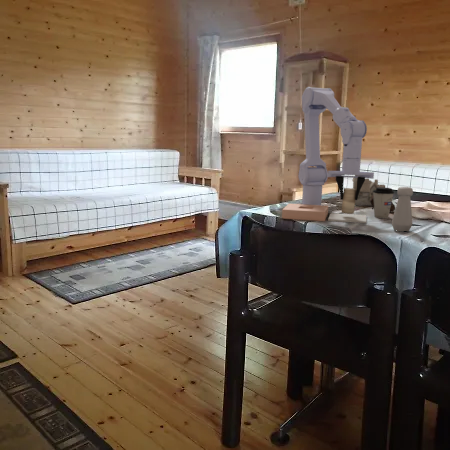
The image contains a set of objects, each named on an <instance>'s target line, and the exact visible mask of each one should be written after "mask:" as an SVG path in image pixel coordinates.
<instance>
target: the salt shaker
mask: <svg viewBox="0 0 450 450" xmlns="http://www.w3.org/2000/svg"><path fill="white" fill-rule="evenodd" d="M413 194H414V189H413V188H412V187H410V186H400V187H397V192H396V195H397V196H398V199H397V201H396V205H395V210H394V211H393V212H394V213H393V216H392V221H391V225H392V228H393V231H395V230H397V231H396V232H398V231H409V232H410V231H411V228H412V227H413V215H412V213H413V212H412V201H411V200H412V199H411V196H413Z"/></svg>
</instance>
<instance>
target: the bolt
mask: <svg viewBox="0 0 450 450" xmlns="http://www.w3.org/2000/svg"><path fill="white" fill-rule="evenodd" d="M370 202H371V205H370V206H372V207H373V208H374V195H373V196H372V198H371V199H370ZM395 209H396V205H395V204H394V202H393V201H392V202H391V207H390V212H389V213H392V212H395Z"/></svg>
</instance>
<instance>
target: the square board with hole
mask: <svg viewBox="0 0 450 450" xmlns="http://www.w3.org/2000/svg"><path fill="white" fill-rule="evenodd" d="M281 212H282V214H281V219H285V220H286V219H287V220H299V221H300V220H301V221H302V220H303V221H316V222H317V221H318V222H326V219H327V217H328V215H329V205H323V204H321V205H307V204H302V203H287V205H286V206H284V207H283V208H282V211H281Z"/></svg>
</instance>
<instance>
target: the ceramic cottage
mask: <svg viewBox="0 0 450 450" xmlns="http://www.w3.org/2000/svg"><path fill="white" fill-rule="evenodd" d="M354 176H357V175H354ZM351 180H352V187H351V189H357V178H352V179H351ZM378 183H379V180H378V179H375V178H374V181H372V180H370V178H365V181H364V183H363V185H362V187H361V189H360V192H359V195H358V199H357V200H355V206H372V205H371V202H370V199H371V198H372V196H373V191H374V190H376V188H377V187H385V188H386V185H385V184H378Z"/></svg>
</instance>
